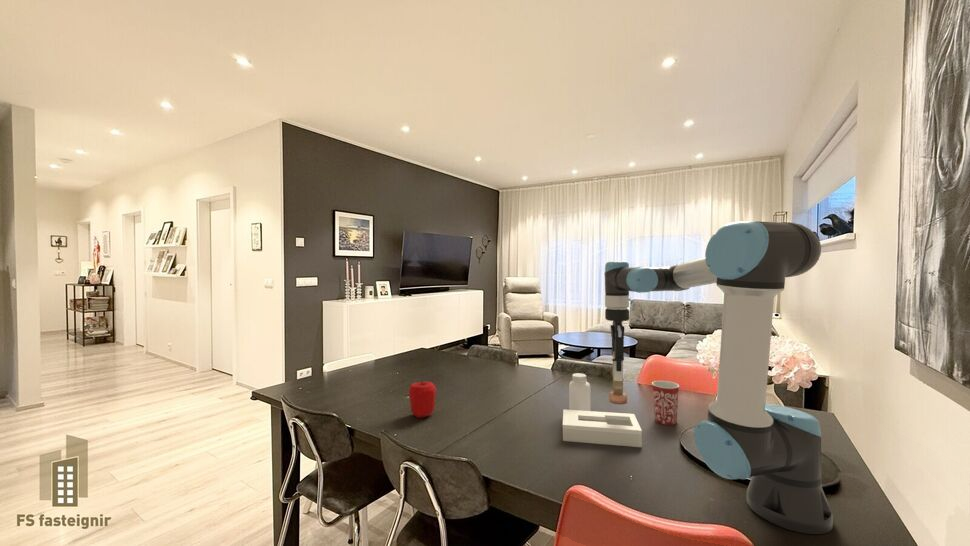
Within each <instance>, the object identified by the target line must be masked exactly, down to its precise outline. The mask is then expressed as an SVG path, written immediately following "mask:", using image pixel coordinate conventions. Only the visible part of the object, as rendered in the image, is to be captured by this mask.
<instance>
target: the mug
mask: <svg viewBox="0 0 970 546" xmlns="http://www.w3.org/2000/svg"><path fill="white" fill-rule="evenodd" d="M651 386H652V395H653V397H652V398H653V410H654V411H653V412H654V421H656V422H657V423H658V424H661V425H664V426H665V425H667V426H674V425H676V424H677V422H678V406H679V392H680V391H679V389H680V384H678V383H677V382H673V381H668V380H654V381H651Z"/></svg>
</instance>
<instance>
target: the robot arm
mask: <svg viewBox="0 0 970 546" xmlns="http://www.w3.org/2000/svg"><path fill="white" fill-rule="evenodd" d="M821 255H822V245H821V242H820V239H819V237H818V236H817V234H816V233H815V232H814V231H812V230H811V229H810V228H809V227H807V226H805V225H803V224H800V223H795V222H789V221H788V222H785V221H784V222H776V221H758V220H757V221H756V220H747V221H734V222H729V223H726V224H724V225H723V226H721V227H720V228H718V229H717V231H716V232H714V233H713V234H712V236H711V237H710V238H709V241H708V242H707V245H706V249H705V255H704V257H702V258H698V259H695V260H690V261H685V262H683V263H680V264H676V265H672V266H661V267H660V266H635V267H631V266H630V265H629V264H630V263H629V262H628V261H608V262H606V263H605V266H604V293H605V295H604V306H605V308H606V309H605V310H604V316H605V320H606V321H609V322H612V324H611V325H610V331H611V332H610V333H611V334H610V337H611V354H612V357H613V351H614V356H615V358H614V359H613V358H612V359H611V360H612V362H613V361H614V381H624V361H625V357H624V356H625V355H624V352H625V351H624V349H625V348H624V345H625V343H624V342H625V340H624V339H625V337H624V336H625V326H624V325H623V322H627V321H629V320H630V309H629V307H630V302H631V301H632V300H631V299H632V298H630V292H633V293H637V294H639V293H642V294H644V293H650V292H665V291H666V292H672V291H673V292H683V291H687V290H689V289H690V288H695V287H700V286H701V287H702V286H706V285H707V286H708V285H712V284H716V285H715V286H717V288H718V289H720V291H722V293H723V304H722V306H723V307H722V320H721V335H720V348H719V349H720V350H719V361H718V362H719V364H718V377H717V378H718V379H717V393H716V399H715V400H713V401H712V402H710V403H709V404H708V410H707V419H705V420H701V421H700V422H699V423H698V424H696V426H695V427H694V431H693V432H694V433H693V437H694V443H695V447H696V449H697V452H698V453H699V456H701V458H702V460H703V462H704V463H705V464H706V465H707V467H708V468H709V469H710V470H711V471H712V472H714V473H715V474H716V475H718V476H719V477H721V478H723V479H727V480H739V479H740V480H747V479H749V478H751V479H750V481H749V484H748V487H747V488H746V503H747V505H748V507H749V508H750V510H752V511H753V512H754V513H755V514H756V515H757V516H759V517H760V518H762V519H764V520H765V521H768V522H769V523H771V524H774V525H776V526H778V527H780V528H784V529H785V530H789V531H793V532H797V533H800V534H806V535H809V534H810V535H823V534H827V533H829V532H831V531H832V530H833V528H834V526H833V525H834V522H833V521H834V517H833V513H832V510H831V508H830V504H829V503H828V499H827V497H826V494H825V492H824V490H823V487H822V438H823V435H822V431H821V423H820V421H819V420H818V419H817V418H816V416H814V415H812V414H809V413H807V412H804V411H801V410H798V409H795V408H791V407H789V406H788V407H787V406H784V405H778V404H774V403H773V404H772V403H767V392H768V391H767V389H768V377H769V366H770V364H769V363H770V355H771V354H770V350H771V339H772V327H773V314H774V303H775V302H774V301H775V297H776V296H777V295H778V294H780V293H781V292H783V291H784V290H785V285H786V278H791V277H796V276H800V275H803V274H805V273H807V272H809V271H810V270H811V269H812V268H814V267H815V265H816V264H817V263H818V261H819V260H820V257H821Z"/></svg>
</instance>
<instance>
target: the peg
mask: <svg viewBox="0 0 970 546" xmlns="http://www.w3.org/2000/svg"><path fill="white" fill-rule="evenodd" d="M612 355H613V356H612V359H614V358H615V356H614V351H613V354H612ZM623 381H624V380H623ZM623 381H614V361H612V388H613V389H612V391H610V392H609V393H608V398H609V399H608V401H609V403H611V404H614V405H626V404H627V403H628V394H627V393H626V392H624V391H623V390H624V389H623V388H624V386H623V385H624V382H623Z"/></svg>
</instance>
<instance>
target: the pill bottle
mask: <svg viewBox="0 0 970 546" xmlns="http://www.w3.org/2000/svg"><path fill="white" fill-rule="evenodd" d="M568 393H569V394H568V400H569V401H568V404H569V405H568V406H569V409H568V410H580V411H592V410H591V384H590V382H588V381H587V375H586V374H585V373H579V372H576V373H573V374H572V375H571V381H570V382H569V384H568Z"/></svg>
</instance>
